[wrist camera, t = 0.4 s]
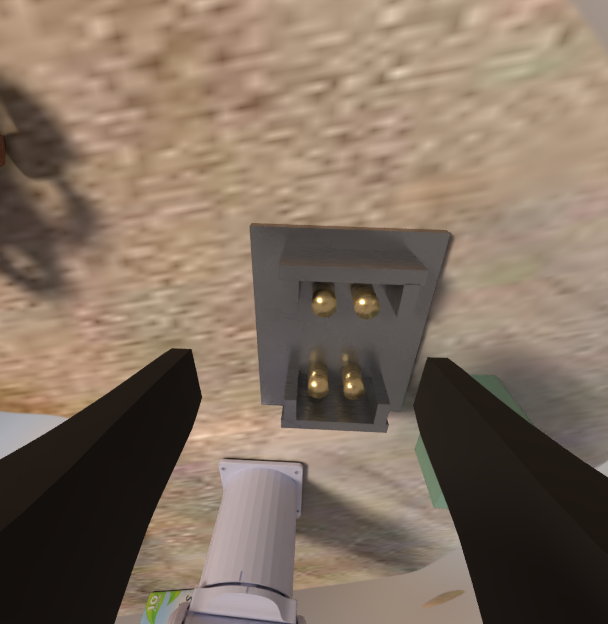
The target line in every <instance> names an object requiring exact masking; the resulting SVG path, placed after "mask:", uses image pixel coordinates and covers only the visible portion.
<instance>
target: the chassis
mask: <svg viewBox="0 0 608 624" xmlns="http://www.w3.org/2000/svg"><path fill="white" fill-rule="evenodd" d="M450 234H451V233H450V232H448V231H447V230H423V229H396V228H368V227H340V226H313V225H285V224H257V223H252V224H251V225H250V239H251V254H252V269H253V284H254V299H255V314H256V329H257V344H258V359H259V374H260V389H261V404H262V405H280V406H283V410H282V417H281V428H302V429H322V430H342V431H363V432H383V433H387V429H388V425H389V424H388V421H387V417H388V413H389V411H401V408H402V404H403V401H404V397H405V394H406V390H407V387H408V383H409V380H410V376H411V372H412V369H413V365H414V362H415V358H416V355H417V351H418V348H419V344H420V340H421V337H422V333H423V330H424V326H425V323H426V319H427V316H428V312H429V308H430V305H431V301H432V298H433V294H434V291H435V287H436V284H437V280H438V277H439V273H440V269H441V266H442V262H443V259H444V255H445V252H446V248H447V245H448V241H449V237H450Z"/></svg>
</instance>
